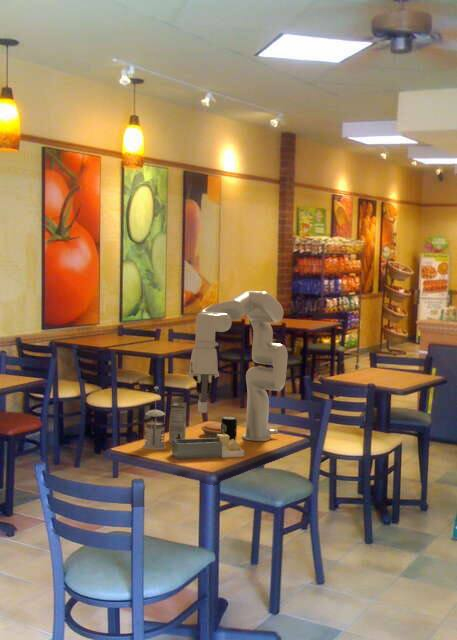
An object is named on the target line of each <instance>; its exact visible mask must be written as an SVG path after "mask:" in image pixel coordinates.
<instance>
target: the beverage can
mask: <svg viewBox="0 0 457 640" xmlns="http://www.w3.org/2000/svg"><path fill="white" fill-rule="evenodd" d="M220 423H221V434H227V435H228V436H230V437H229V441H230V440H231V439H234V440H236V441H237V437H238V436H237V433H238V432H237V430H238V420H237V417H236V416H229V415H228V416H227V415H225V416H222V419H221V422H220Z"/></svg>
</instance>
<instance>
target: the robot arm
mask: <svg viewBox="0 0 457 640" xmlns="http://www.w3.org/2000/svg"><path fill="white" fill-rule="evenodd" d="M284 312H285V311H284V308H283V306H282V304H281V303H280V302H279V301H278V300H277V299H276V298H275V297H274V296H273V295H272V294H270V293H269V292H266V291H256V290H246V291H243V292H241V293H240V294H238V295H236V296H235V297H233V298H232V299H230V300H227V301H222V302H219V303H215V304H212V305H209V306H207V307H205V308H204V309H202V310H201V311H199V312H198V314H197V315H196V318H195V339H194V340H195V345H194V347H193V348H192V351H191V357H190V364H189V371H188V373H187V376H188V377H189V378H192V379H193V380H194V381H195V382H196V386H195V387H196V389H195V391H196V393H198V394H199V393H201V387H202V383H201V375H202V374H208V388H207V394H209V393H210V391H211V383H212V382H213V380H215V379H216V378H217V377H219V376H220V373H219V370H218V368H219V367H218V365H219V363H218V354H217V353H218V352H217V349H216V347H218V346H219V342H217V341H216V332H218V333H225V332H227V331H228V330H230V328H231V327H232V324H233V321H237V320H240V319H242V318H243V317H245V316H246V318H247V320H248V321H250V324H251V327H252V330H253V332H252V333H253V334H252V335H253V336H252V346H251V359H252V361H253V362H254V363H257V364H261V365H271V366H272V367H267V366H266V367H265V366H252V367H250V368H248V370H246V374H245V382H246V388H247V389H246V390H247V395H246V398H247V399H246V421H245V422H246V423H245V425H246V426H245V433H243V434H241V435H242V436H241V438H242V439H244V440H246V441H251V442H266V441H270V440H271V439H272V436H271V435H278V434H279V430H278V429H272V428H269V413H270V412H269V411H270V410H269V409H270V408H269V407H270V405H269V404H270V398H269V395H268V392H267V390H268V391H275V392H276V391H277V392H279V391H282V390H283V389H284V387H285V384H286V380H287V368H288V359H289V358H288V357H289V355H288V350H287V348H286V346H285V345H284V344H283V343H282V344H281V343H277V342H273V339H274V338H273V337H274V336H273V335H274V330H273V328H272V326H271V323H273V324H276V323H280V322H281V321H282V319H283V318H284Z"/></svg>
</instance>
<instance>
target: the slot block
mask: <svg viewBox="0 0 457 640" xmlns="http://www.w3.org/2000/svg"><path fill="white" fill-rule="evenodd" d="M216 439H217V438H209V437H207V438H206V437H204V438H203V437H202V438H201V437H199V438H185V439H172V445H171V456H173V457H174V458H175V459H176V460H196V459H216V458H217V459H218V458H222V442H216Z"/></svg>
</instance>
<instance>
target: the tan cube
mask: <svg viewBox="0 0 457 640" xmlns="http://www.w3.org/2000/svg"><path fill="white" fill-rule="evenodd" d="M229 437H230V436H228V435H227V434H217V439H216V442H222V446H229Z"/></svg>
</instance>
